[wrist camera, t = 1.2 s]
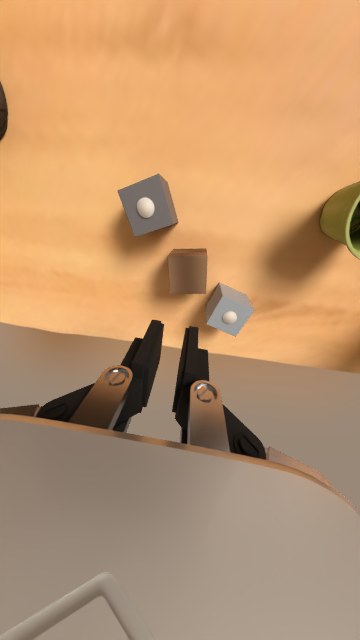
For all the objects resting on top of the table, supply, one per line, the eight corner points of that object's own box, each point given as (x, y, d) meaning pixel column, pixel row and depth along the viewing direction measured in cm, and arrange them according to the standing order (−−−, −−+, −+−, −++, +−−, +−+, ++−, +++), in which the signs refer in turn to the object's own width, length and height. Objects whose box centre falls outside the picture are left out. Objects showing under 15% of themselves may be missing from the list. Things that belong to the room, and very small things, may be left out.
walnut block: (206, 248, 29) (207, 255, 24) (205, 280, 31) (205, 293, 26) (173, 249, 29) (167, 256, 24) (175, 280, 32) (170, 293, 27)
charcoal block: (167, 182, 25) (158, 173, 20) (178, 222, 28) (172, 224, 22) (133, 195, 27) (116, 190, 21) (147, 233, 29) (134, 237, 23)
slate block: (245, 294, 32) (254, 310, 26) (230, 318, 34) (235, 337, 29) (219, 282, 31) (222, 296, 26) (205, 307, 34) (206, 324, 28)
